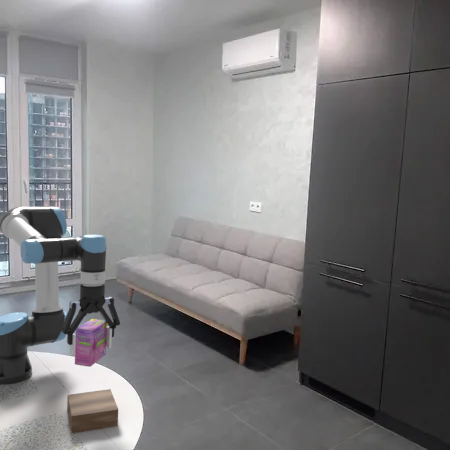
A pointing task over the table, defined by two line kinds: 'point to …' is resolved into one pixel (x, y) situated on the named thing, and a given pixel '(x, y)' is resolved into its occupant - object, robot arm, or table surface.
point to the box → (90, 342)
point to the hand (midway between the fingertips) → (91, 350)
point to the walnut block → (92, 411)
